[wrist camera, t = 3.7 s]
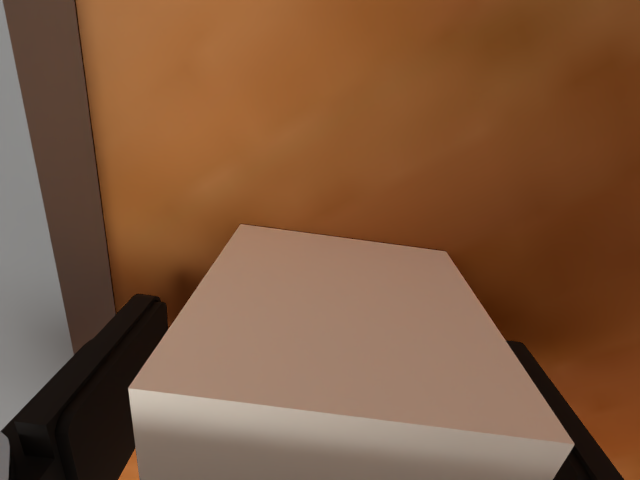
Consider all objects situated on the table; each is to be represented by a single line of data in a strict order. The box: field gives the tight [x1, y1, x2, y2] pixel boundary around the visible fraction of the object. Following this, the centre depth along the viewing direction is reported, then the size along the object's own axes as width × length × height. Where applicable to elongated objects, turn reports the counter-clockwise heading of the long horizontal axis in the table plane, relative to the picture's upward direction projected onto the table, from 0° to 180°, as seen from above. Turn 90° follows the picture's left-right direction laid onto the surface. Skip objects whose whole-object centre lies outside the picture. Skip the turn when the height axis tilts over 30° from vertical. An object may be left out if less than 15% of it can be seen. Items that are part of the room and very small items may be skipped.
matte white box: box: [128, 224, 575, 480], centre depth 9 cm, size 6×6×6 cm
